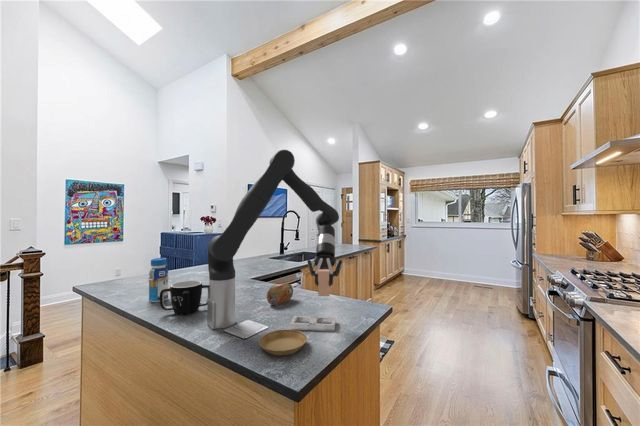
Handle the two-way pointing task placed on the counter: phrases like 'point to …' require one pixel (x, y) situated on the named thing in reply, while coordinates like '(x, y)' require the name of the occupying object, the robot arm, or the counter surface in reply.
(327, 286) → the peg
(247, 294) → the counter surface
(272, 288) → the tin
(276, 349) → the plant saucer
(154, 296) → the beverage bottle
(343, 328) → the counter surface
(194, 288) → the mug
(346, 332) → the counter surface
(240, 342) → the counter surface
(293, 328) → the grey flat frame
